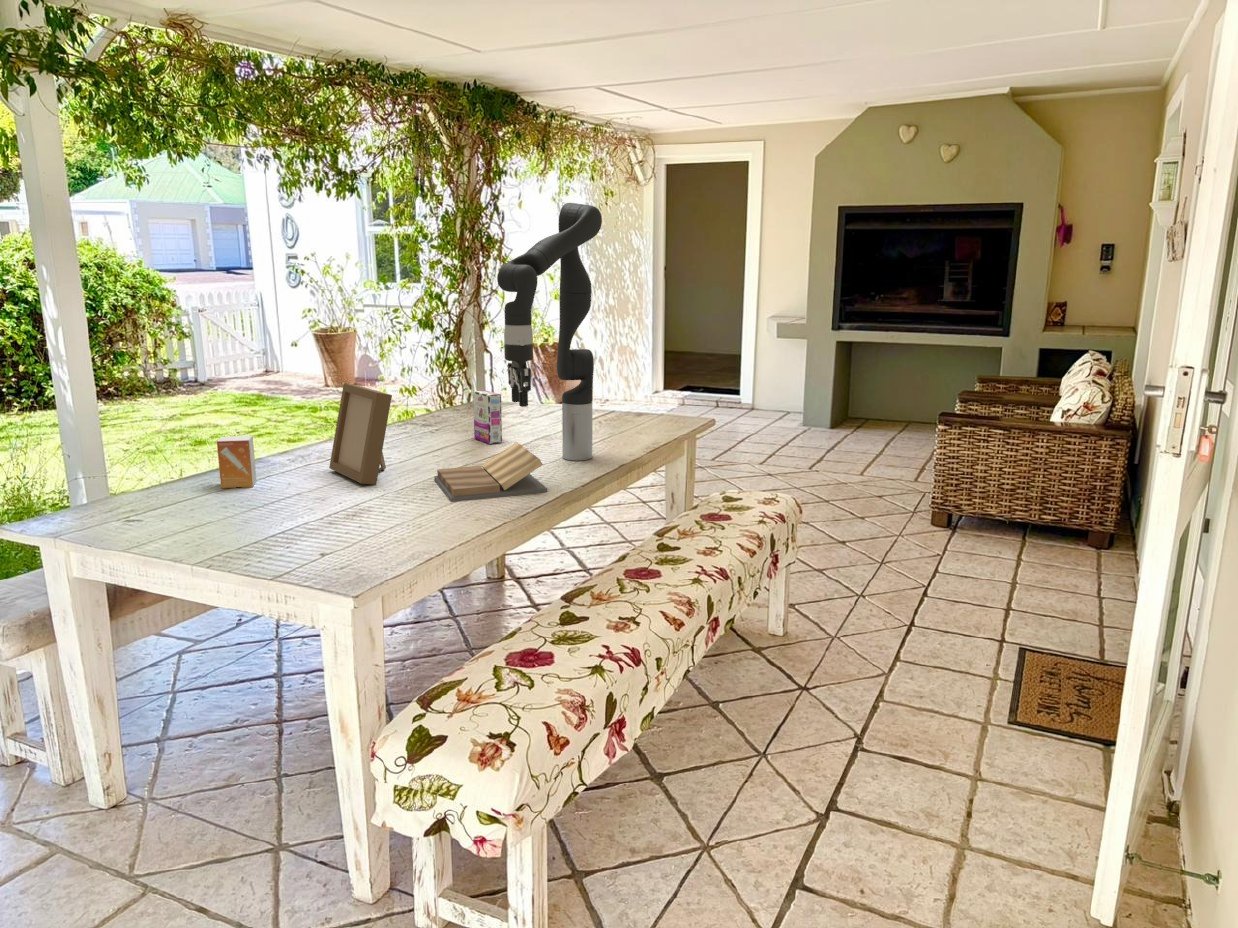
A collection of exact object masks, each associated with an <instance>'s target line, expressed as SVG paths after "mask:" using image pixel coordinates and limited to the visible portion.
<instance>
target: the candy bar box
mask: <svg viewBox="0 0 1238 928" xmlns="http://www.w3.org/2000/svg"><path fill="white" fill-rule="evenodd" d="M472 393H473V395H472V396H473V398H472V399H473V426H474V427H473V431H474V432H473V434H474V435H473V436H474V438H473V439H474V440H477V441H479V442H482V443H485V444H488V445H496V444H502V443H503V431H502V429H503V426H502V425H503V423H502V421H503V420H502V394H501V393H497V392H494V391H489V390H476V391H475V390H474V391H473V392H472Z"/></svg>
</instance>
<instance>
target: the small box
mask: <svg viewBox="0 0 1238 928" xmlns="http://www.w3.org/2000/svg"><path fill="white" fill-rule="evenodd" d="M254 446H255V445H254V436H253V435H233V436H232V435H229V436H220V437H219V439H217V440H216V447H217V448H216V449H217V458H218V469H219V479H220V480H219V482H220V488H221V489H237V488H236V487H242V488H254V486H255V485H254V484H256V483H257V469H256V460H255V459H256V457H255V447H254Z"/></svg>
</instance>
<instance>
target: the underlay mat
mask: <svg viewBox="0 0 1238 928" xmlns="http://www.w3.org/2000/svg"><path fill="white" fill-rule="evenodd" d="M433 477H434V478H433V479H434V482H435V483H436V484H437V485H438V487H439V488H440V490H441V491H442V492H443V493H444V494H445V496H446V497H447V499H448V500H449V501H450V502H459V501H460V502H461V501H470V500H481V499H492V498H500V497H510V496H520V495H521V496H523V495H530V494H533V495H534V494H541V493H548V487H546V486H545V485H544V484H543V483H542V482H540V481H539V480H538V479H537V478H536V477H534V476H533V475H532V473H530V474H528V475H527V476H525V477H524V478H522V479H521V480H519V481H518V482H516V483H515V484H513V485H512V486H510V487H509V488H507V489H506V490H504V489H503V488H502V487H501V486H500V492H499V493H489V494H479V495H468V496H458V497H453V495H452V494H451V493H450V492H449V490H448V489H447V488H446V487H445V485H444V484H443V483H442V481H441V480H440V479H439V478H438V475H435V476H433ZM491 497H492V498H491Z"/></svg>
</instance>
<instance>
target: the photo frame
mask: <svg viewBox="0 0 1238 928" xmlns="http://www.w3.org/2000/svg"><path fill="white" fill-rule="evenodd" d="M342 385H343V386H342V390H341V397H340V402H339V409H338V413H337V421H336V424H335V425H336V427H335V433H334V438H333V444H332V450H331V455H330V461H329V469H330V470H332V471H335V472H336V473H339V474H341V475H343V476H345V477H347V478H349V479H351V480H353V481H355V482H358V483H360V484H363V485H375V486H376V485H377V483H378V478H379V477H378V476H379V471H380V468H381V471H382V472H384V471H385V469H386V468H387V467H386V461H385V457H384V453H383V449H384V443H385V437H386V430H387V426H388V420H389V415H390V408H391V404H392V399H393V398H392V396H393V395H392V394H389V393H386V392H382V391H379V390H375V389H372V388H367V387H365V386H364V387H363V386H361V385H357V384H351V383H350V384H349V383H343V384H342Z"/></svg>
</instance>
